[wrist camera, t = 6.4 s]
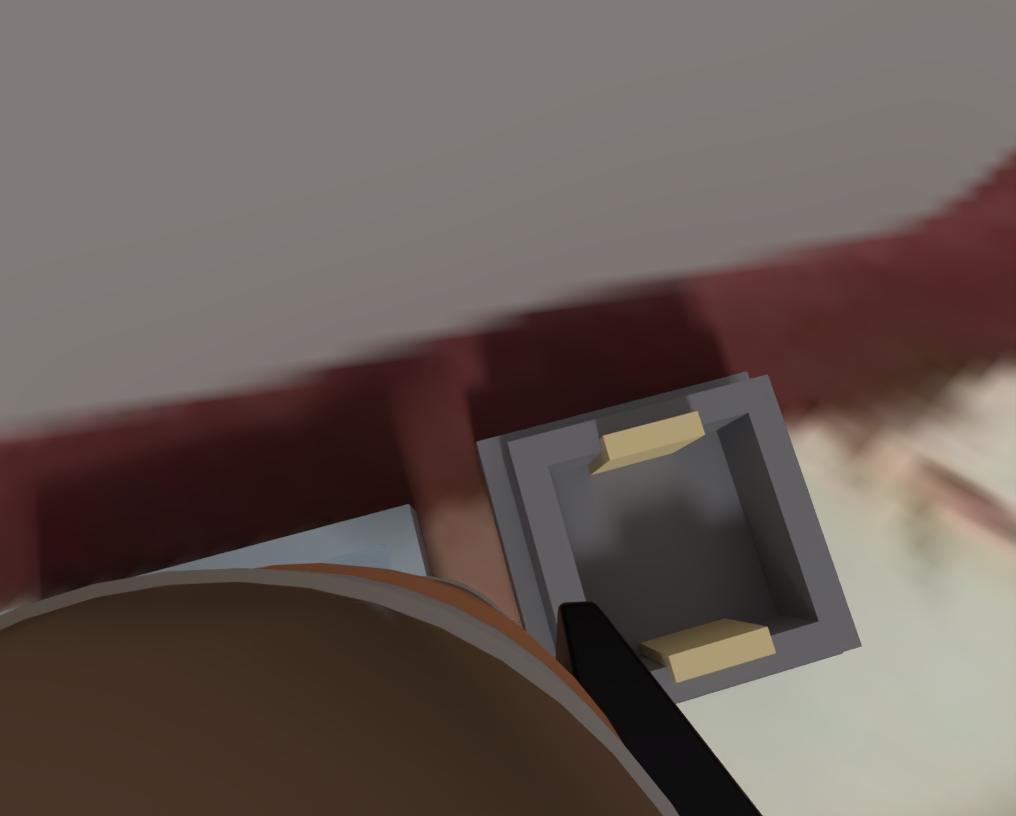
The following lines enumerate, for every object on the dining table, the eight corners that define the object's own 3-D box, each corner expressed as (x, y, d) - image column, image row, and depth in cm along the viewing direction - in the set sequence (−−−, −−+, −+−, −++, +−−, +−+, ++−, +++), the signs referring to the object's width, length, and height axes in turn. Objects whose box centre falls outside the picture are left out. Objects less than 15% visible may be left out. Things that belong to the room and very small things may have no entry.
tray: (513, 904, 20) (520, 962, 17) (103, 1036, 19) (36, 1122, 16) (417, 512, 22) (409, 503, 19) (41, 613, 21) (-30, 619, 18)
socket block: (817, 647, 22) (906, 667, 17) (549, 728, 21) (570, 770, 17) (729, 383, 23) (790, 340, 19) (476, 450, 22) (477, 421, 18)
